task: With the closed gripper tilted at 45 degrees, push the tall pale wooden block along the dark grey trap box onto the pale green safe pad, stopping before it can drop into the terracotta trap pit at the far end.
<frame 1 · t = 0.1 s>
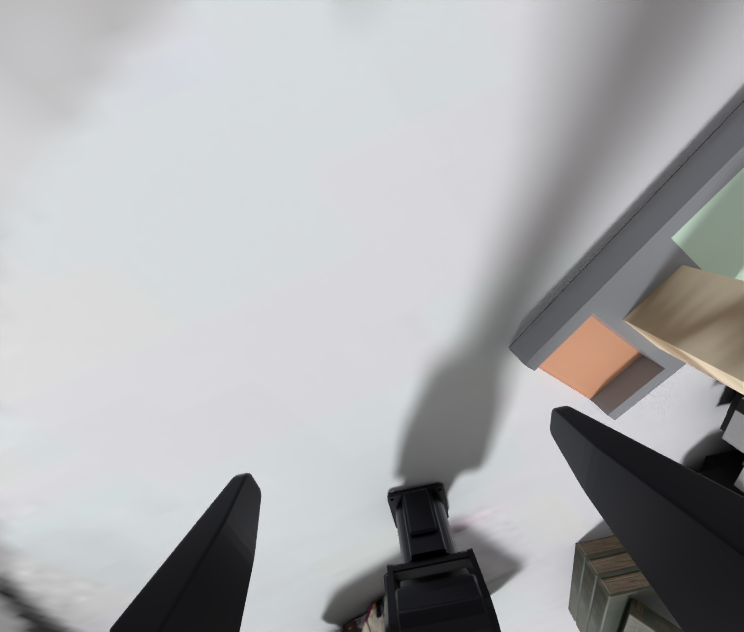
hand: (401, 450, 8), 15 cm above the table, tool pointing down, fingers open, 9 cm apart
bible: (629, 562, 46), on the table
block: (669, 309, 22), point 2 cm above the table, touching trap box
projector: (395, 620, 49), on the table
trap box: (683, 255, 23), on the table
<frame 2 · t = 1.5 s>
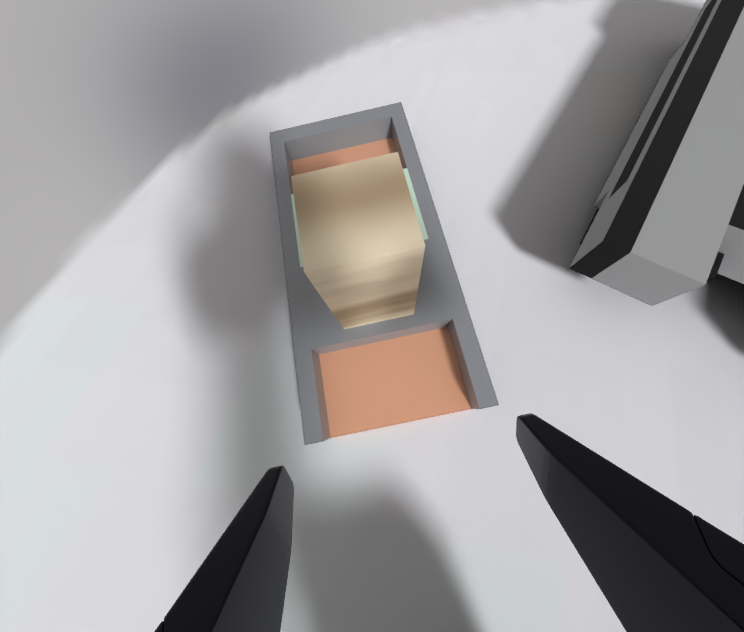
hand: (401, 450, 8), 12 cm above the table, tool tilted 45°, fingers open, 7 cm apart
block: (371, 289, 21), point 2 cm above the table, touching trap box
trap box: (365, 257, 25), on the table
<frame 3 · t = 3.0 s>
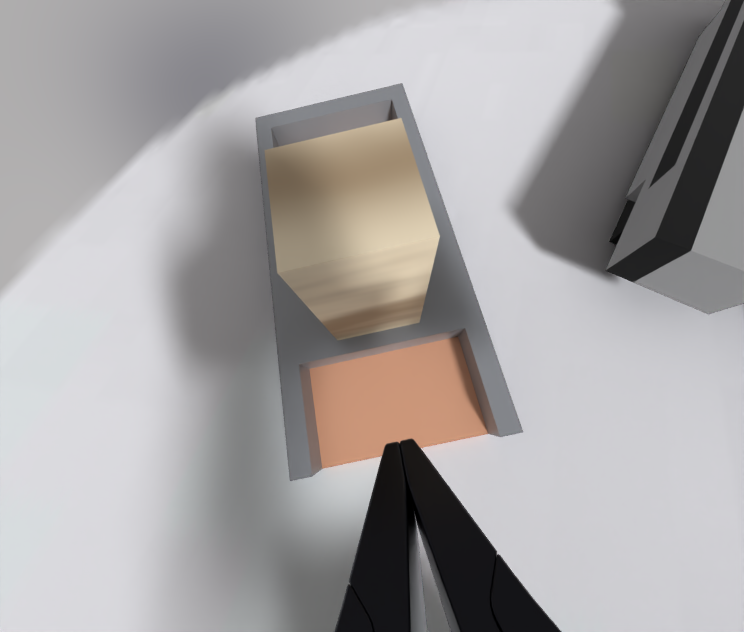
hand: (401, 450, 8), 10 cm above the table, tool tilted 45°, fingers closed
block: (370, 293, 18), point 2 cm above the table, touching trap box
trap box: (362, 257, 22), on the table
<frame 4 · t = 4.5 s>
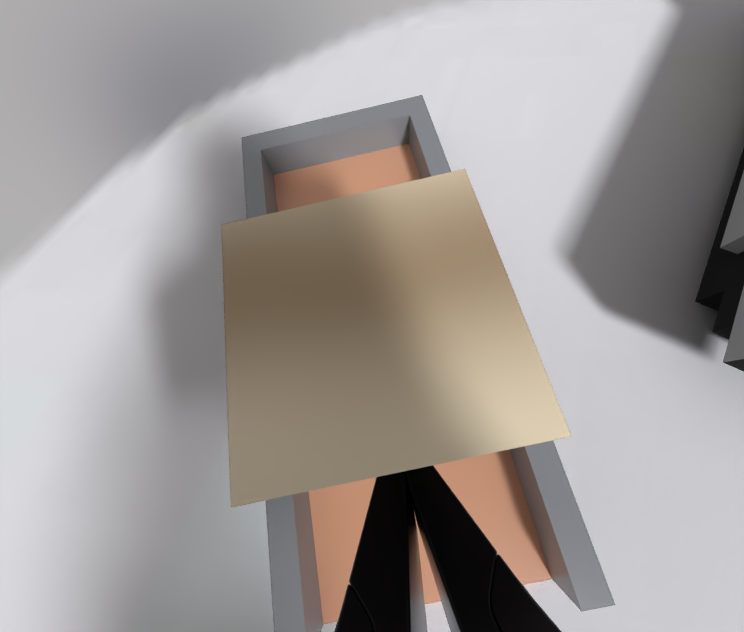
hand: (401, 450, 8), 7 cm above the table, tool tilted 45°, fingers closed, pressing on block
block: (386, 374, 13), point 3 cm above the table, touching gripper
trap box: (374, 314, 17), on the table
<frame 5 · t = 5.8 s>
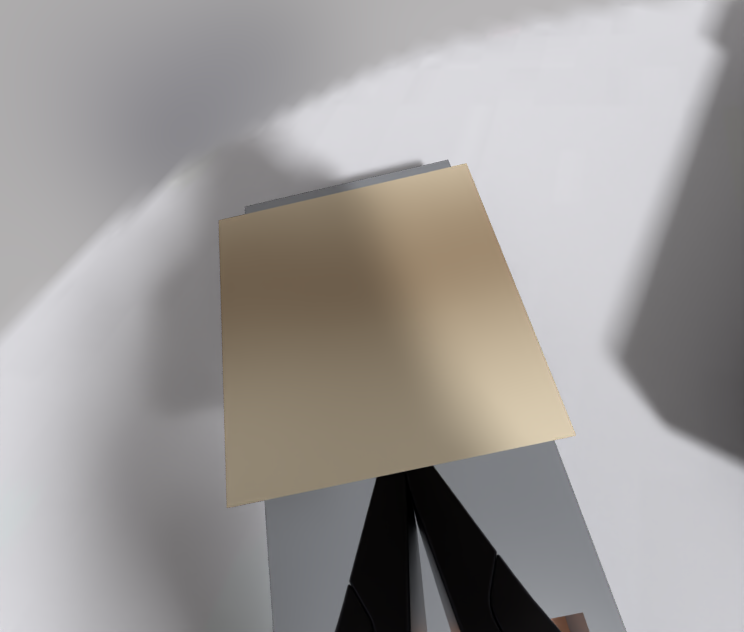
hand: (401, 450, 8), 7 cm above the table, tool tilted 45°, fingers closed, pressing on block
block: (386, 373, 13), point 2 cm above the table, touching gripper, trap box
trap box: (397, 418, 15), on the table
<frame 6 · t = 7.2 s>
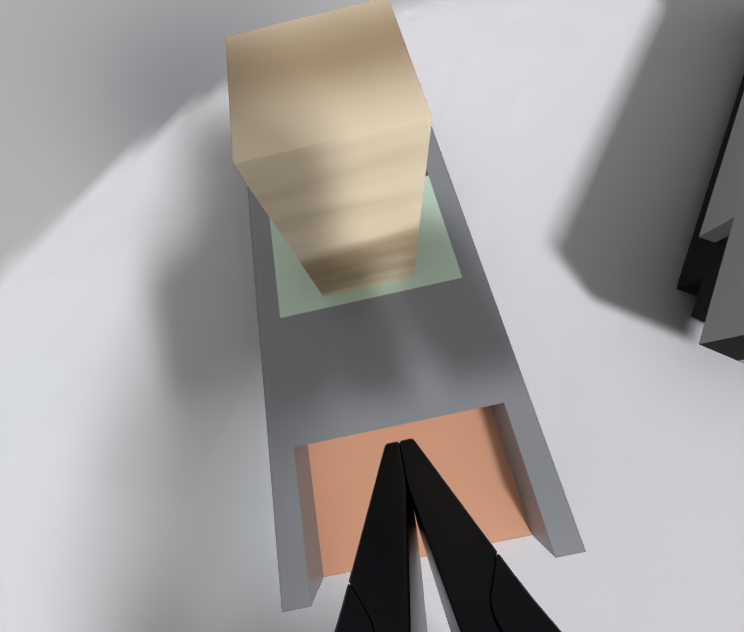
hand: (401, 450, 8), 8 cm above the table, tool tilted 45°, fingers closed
block: (359, 247, 16), point 2 cm above the table, touching trap box
trap box: (371, 297, 18), on the table
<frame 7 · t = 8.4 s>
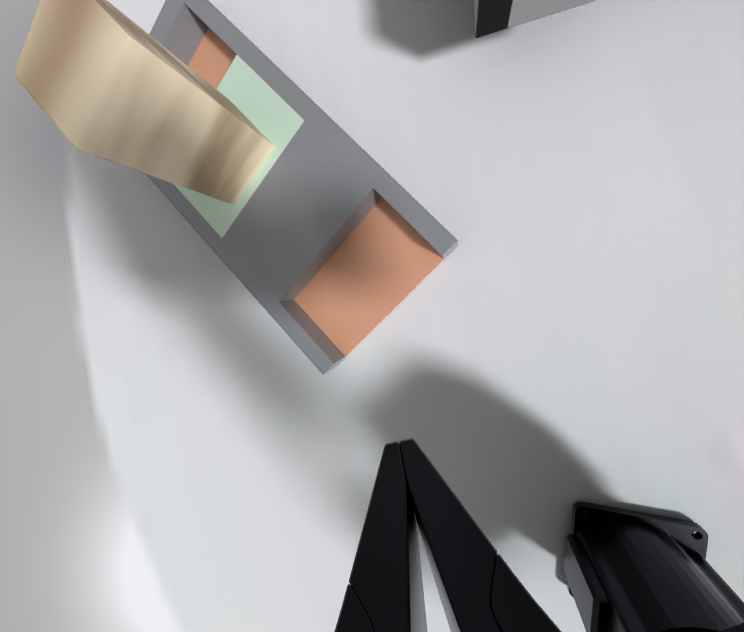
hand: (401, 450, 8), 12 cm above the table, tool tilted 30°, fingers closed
block: (232, 153, 20), point 2 cm above the table, touching trap box
trap box: (273, 185, 22), on the table
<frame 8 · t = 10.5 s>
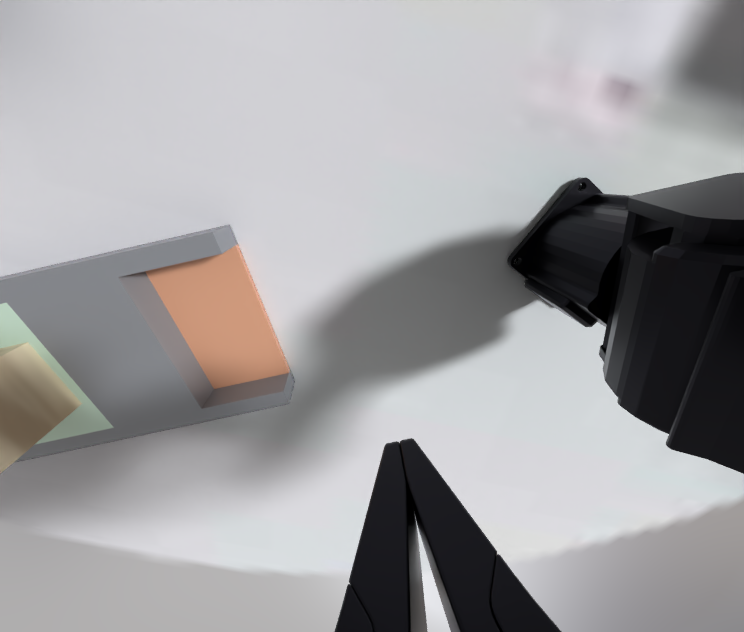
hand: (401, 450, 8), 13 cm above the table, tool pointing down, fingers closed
block: (19, 382, 18), point 2 cm above the table, touching trap box
trap box: (84, 354, 21), on the table
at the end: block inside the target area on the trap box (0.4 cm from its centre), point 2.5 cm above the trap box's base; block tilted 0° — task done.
